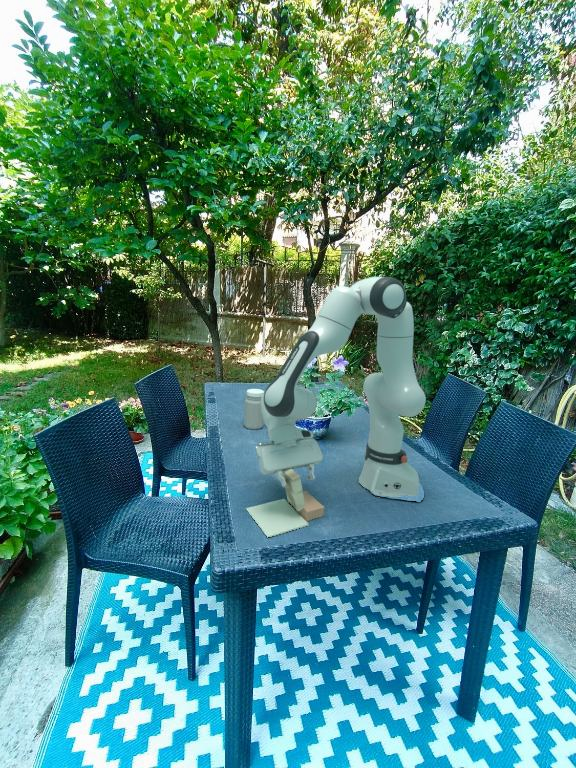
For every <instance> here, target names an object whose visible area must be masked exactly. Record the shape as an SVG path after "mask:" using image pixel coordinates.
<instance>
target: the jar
mask: <svg viewBox="0 0 576 768" xmlns="http://www.w3.org/2000/svg"><path fill="white" fill-rule="evenodd" d="M264 393H265V391H264V390H263V389H259V388H249V389H247V390H246V398H244V412H243V413H244V414H243V426H244V428H246V429H247V430H254V431H255V430H256V431H257V430H260V429H262V428H263V427H264V426H265V425H264V424H265V422H264V419H263V415H262V411H261V404H260V401H261V397H262V395H263V394H264Z"/></svg>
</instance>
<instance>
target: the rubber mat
mask: <svg viewBox="0 0 576 768" xmlns="http://www.w3.org/2000/svg"><path fill="white" fill-rule="evenodd" d="M245 510H247V511H248V512H249V514H250V515H251V516H252V518H253V519H254V520H255V522H256V523H257V524H258V526H259V527H260V528H261V529H262V531H263V532H264V534H265V535H266V536H267V538H268V537H272V536H275V537H277V536H276V535H278V536H280V535H279V534H281V535H284V534H286V532H288V533H290V532H289V531H291V532H293V531H292V530H294V531H297V530H300V529H303V527H304V528H307V527H309V526H310V525H309V524H310V523H309V522H308V521H306V520H305V519H304V518H303V517H302V516H301V515H300V514H299V513H298V512H297V511H296V510H295V509H294V508H293V507H292V506H291V505H290V504H289V502H288V500H286V499H285V498H282V499H278V500H274V501H269V502H266V503H262V504H261V503H260V504H258V505H254V506H250V507H246V508H245ZM247 511H246V512H247ZM248 512H247V513H248ZM249 514H248V515H249ZM250 515H249V516H250ZM251 516H250V517H251ZM252 518H251V519H252ZM253 519H252V520H253ZM254 520H253V521H254ZM255 522H254V523H255ZM256 523H255V524H256ZM257 524H256V525H257ZM258 526H257V527H258ZM306 526H307V527H306ZM259 527H258V528H259ZM260 528H259V529H260ZM299 528H300V529H299ZM296 529H297V530H296ZM262 531H261V532H262ZM263 532H262V533H263ZM283 533H284V534H283ZM264 534H263V535H264ZM265 535H264V536H265ZM266 536H265V537H266ZM267 538H266V539H267ZM272 538H273V537H272ZM268 539H269V538H268Z"/></svg>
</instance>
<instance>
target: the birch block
mask: <svg viewBox="0 0 576 768" xmlns="http://www.w3.org/2000/svg"><path fill="white" fill-rule="evenodd" d="M281 475H282V476H283V477H284V478H285V479H288V482H289V486H287V487H284V490H285V494H286V499H287V500H286V501H287V502H288V503H290V504H291V505H292V506H293V507H294V508H295V509H296V510H297V511H300V510H302V509H303V508H305V502H304V496H303V491H304V490H303V485H302V480H301V476H300V474H298V472H296V471H295V469H291V468H287V469H283V470H282V474H281Z"/></svg>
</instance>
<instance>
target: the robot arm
mask: <svg viewBox="0 0 576 768" xmlns="http://www.w3.org/2000/svg"><path fill="white" fill-rule="evenodd" d="M406 292H407V291H406V289H405V287H404V284H403V283H402V282H401V280H398V279H397V278H394V277H391V276H370V277H367V278H360V279H357V280H356V281H353V282H352V283H350V284H349V286H346V285H340V286H337V287H334V288H333V289H332V290H331V292H330V293H329V294H328V296H327V297H326V298H325V299H326V300H325V301H324V302H323V304H322V306H321V308H320V310H319V312H318V314H317V316H316V318H315V320H314V322H313V324H312V325H311V327H310V328H309V329H308V330H307V331H306V332H304V333H303V334H301V336H300V337H299V339H298V340H297V342H296V344H295V345H294V346H293V348H292V349H291V351H290V353H289V354H288V356H287V358H286V360H285V362H284V363H283V365H282V366H281V368H280V370H279V372H278V374H277V375H276V376H275V378H274V379H272V381H271V382H270V383H269V384H268V386H267V387H266V389H265V391H264V394H263V395H262V397H261V401H260V404H261V411H262V415H263V419H264V424H265V425H266V427H267V435H268V438H269V441H266V442H260V443H258V444H257V445H256V447H255V452H256V456H257V457H258V466H259V469H260V470H259V471H260V473H261V474H262V475H263V476H267V475H273V474H274V476H275V478H276V479H277V480H278V481H279V482H280V484H281V487H282V488H285V487H287V486H289V482H288V479H285V478H284V477H283V474H282V470H283V469H287V468H291V469H292V470H296V469H301V468H307V469H306V470H308V474H307V475H306V478H307V481H308V482H312V481H314V480H315V478H316V477H315V475H314V472H315V465H318V464H321V462H323V459H324V455H323V451H322V450H321V446H320V445H319V443H318V441H317V440H316V439H315V438H314V436H315V435H314V433H313V431H312V430H308V429H302V428H300V427H296V422H299V421H302V420H306V419H308V418H310V417H311V416H313V414H314V413H315V412H316V410H317V407H318V405H317V404H318V400H317V396H316V394H315V393H314V392H313V390H311V389H308V388H305V387H302V386H299V385H298V383H299V381H300V380H301V379H302V376H303V374H304V373H305V371H306V369H307V367H308V366H309V365H310V363H311V361H313V360H314V359H315V358H317V357H319V356H322V355H326V354H327V355H328V354H332V353H335V352H338V351H340V350H341V349H342V348H343V346H344V345H345V344H346V342H348V339H349V337H350V335H351V333H352V331H353V328H354V326H355V323H356V321H357V319H358V318H359V317H360V316H361V315H362V314H364V315H369V316H375V317H376V320H377V333H376V334H377V335H376V336H377V337H376V360H377V363H378V365H379V366H380V368H381V371H382V372H373V373H371V374H369V375H367V377H366V378H365V380H364V382H363V386H362V389H363V393H364V394H365V395H364V396H365V397H366V400H367V405H368V410H369V412H368V413H369V419H370V421H369V423H370V424H369V434H368V442H367V444H366V446H365V452H364V464H363V465H362V466H363V468H362V469H361V473H360V475H359V477H358V479H359V481H358V483H360V484H361V485H362V486H363V487H365V488H367V489H369V490H370V491H371V492H372V493H373V494H374V495H378V496H389V497H401V496H402V495H403V496H404V495H408V496H417V495H418V493H419V482H420V477H419V474H418V471H417V470H416V469H415V468H414V467H413V466H411V465H410V463H408V461H409V460H408V459H409V458H408V456H407V453H406V450H405V449H402V446H403V445H402V444H403V438H404V433H405V431H404V425H403V423H402V420H401V418H400V416H403V417H407V418H412V417H413V418H414V417H416V416H418V415H419V414H420V413H421V412H422V411H423V410H424V408H425V405H426V402H427V401H426V400H427V398H426V394H425V392H424V390H423V389H422V388H421V386H420V384H419V382H418V379H417V375H416V372H415V368H414V361H413V360H414V359H413V351H414V349H413V348H414V334H415V333H414V331H415V329H414V327H415V326H414V325H415V324H414V313H413V312H414V311H413V306H412V305H411V304H410V302H409V301H407V293H406ZM360 484H359V485H360ZM361 485H360V486H361ZM362 486H361V487H362ZM363 487H362V488H363ZM365 488H364V489H365ZM379 493H381V494H379ZM398 495H399V496H398ZM400 495H401V496H400ZM403 496H402V497H403ZM406 497H407V496H406Z"/></svg>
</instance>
